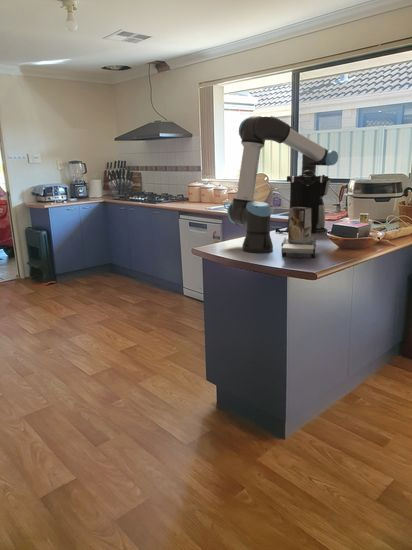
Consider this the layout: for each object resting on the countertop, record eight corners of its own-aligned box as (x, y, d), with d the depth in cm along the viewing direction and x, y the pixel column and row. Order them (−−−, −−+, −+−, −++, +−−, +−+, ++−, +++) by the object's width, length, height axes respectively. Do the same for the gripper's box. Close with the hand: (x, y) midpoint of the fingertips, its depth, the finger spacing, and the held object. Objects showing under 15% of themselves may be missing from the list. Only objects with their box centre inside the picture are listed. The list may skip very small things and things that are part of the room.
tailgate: (283, 246, 197) (281, 252, 185) (283, 242, 196) (281, 248, 184) (313, 248, 194) (313, 254, 181) (313, 243, 193) (313, 249, 181)
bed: (280, 257, 197) (281, 243, 196) (283, 251, 212) (284, 237, 210) (315, 259, 194) (316, 244, 192) (315, 252, 208) (316, 238, 206)
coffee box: (311, 242, 202) (313, 207, 197) (303, 244, 197) (305, 209, 193) (295, 239, 208) (296, 206, 204) (287, 241, 204) (288, 207, 199)
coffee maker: (333, 230, 270) (337, 175, 262) (304, 237, 249) (307, 177, 240) (302, 226, 286) (305, 174, 277) (272, 232, 265) (274, 176, 256)
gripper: (331, 185, 227) (332, 187, 207) (283, 184, 233) (280, 187, 213) (332, 170, 225) (334, 171, 205) (284, 170, 231) (281, 171, 211)
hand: (306, 179), depth 209 cm, fingers open, 13 cm apart
